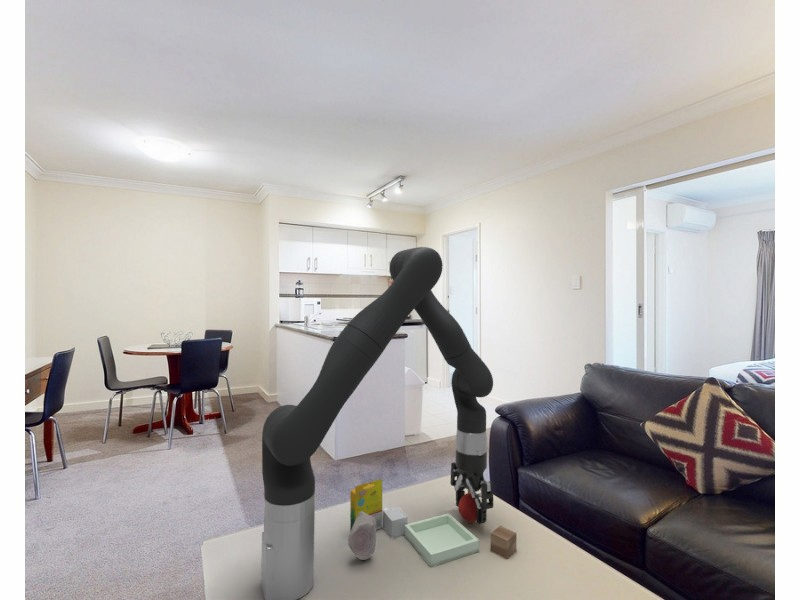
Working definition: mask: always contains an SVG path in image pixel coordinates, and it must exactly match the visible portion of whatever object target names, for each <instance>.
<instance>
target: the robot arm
mask: <svg viewBox="0 0 800 600" xmlns="http://www.w3.org/2000/svg"><path fill="white" fill-rule="evenodd" d="M442 272H443V259H442V257H441V255H440V253H439V252H438V251H436V250H435V249H434V248H431V247H426V246H420V247H413V248H407V249H404V250H400V251H398V252H395V254H394V255H393V256H392V258H391V259H390V262H389V273H390V277H391V279H392V282H391V284H390V285H389V286H388V288H387V289H386V290H385V291H384V292H383V293H382V294H381V295H380V296H379V297H377V298H376V299H374V300H373V301H372V302H370V303H369V304H368V305H366V306H365V307H364V308H362V310H360V311H359V312H358V313H357V314H355V316H354V317H352V318H351V320H349V322H348V323H347V324H346V325H345V327H344V328H343V329H342V331H341V332H340V333H339V334H338V336H337V337H336V338H335V339H334V341H333V343H332V344H331V346H330V348H329V349H328V352H327V353H326V354H327V355H326V357H325V358H324V361H323V364H322V366H321V369H320V372H319V373H318V376H317V378H316V380H315V382H314V383H313V385H312V387H311V388H310V389H309V391H308V392H307V393H306V394H305V396H303V398H302V399H301V400H300V401H299V402H298V404H297V405H294V404H284V405H281V406H279V407H276V408H275V409H274V410H273V411H272V412H270V413H269V414H268V416H267V417H266V419H265V421H264V423H263V427H262V434H261V435H262V437H261V467H262V468H261V470H262V471H261V472H262V475H261V476H262V480H263V488H264V490H263V491H264V492H263V494H264V496H263V497H264V498H263V531H262V532H261V559H260V560H261V566H260V567H261V569H260V576H261V577H260V583H261V588H262V593H263V597H264V600H298V599H301V598H303V597H304V596H306V595H307V594H308V592H310V591H311V589H312V587H314V578H315V516H316V515H315V510H316V509H315V507H316V506H315V505H316V503H315V502H316V478H315V477H316V476H315V473H314V471H313V467H312V462H311V457H312V456H313V455H314V454H315V453H316V451H317V450H318V448H319V447H320V446H321V444H322V442H323V440H324V439H325V437H326V435H327V434H328V432H329V430H330V429H331V427H332V426H333V423H334V422H335V420H336V418H337V416H338V415H339V414H340V411H341V410H342V408H343V407H344V405H345V404H346V402H347V401H348V400H349V399H350V397H351V396H352V395H353V394H354V392H355V391H356V389H357V388H358V386H359V385H360V383H361V382H362V381H363V380H364V378H365V377H366V375H367V374H368V373H369V372H370V370H371V369H372V367H374V365H375V364H376V363H377V361H378V360H379V358H380V357H381V355H382V354H383V353H384V351H385V350H386V348H387V347H388V346H389V343H390V342H391V341H392V339H393V338H394V336H395V335H396V334H397V332H398V331H399V330H400V329H401V327H402V326H403V324H404V323H405V321H406V320H407V319H408V317H409V316H410V314H411V313H412V312H413V311H415V312H416V313H417V315H418V316H419V318H420V319H421V320H422V322H423V324H424V325H425V327H426V328H427V330H428V331H429V333H430V335H431V337H432V338H433V340H434V343H435V344H436V346H437V348H438V350H439V352H440V353H441V355H442V357H443V359H444V360H445V362H446V363H447V365H449V366H450V367H452V368H454V371H453V372H452V376H451V390H452V395H453V399H454V404H455V407H456V411H457V412H456V413H457V416H456V434H455V462H452V463H451V464H450V465H451V466H450V482H449V483H450V486H451V487H452V486H453V487H454V488H453V489H454V491H455V506H457V508H459V507H458V505H459V501H460V499H461V498H462V497H463V495H465V494H466V491H465V489H466V490H467V491H468V490H469V492H471V495H472V498H473V499H475V501H476V504H477V521H476V524H478V525H482V524H485V523H486V522H487V518H488V517H487V516H488V515H487V511H488V510H489V509H493V508H494V482H493V481H492V480H489V481H487V480H485V477H484V472H485V471H486V469H487V467H488V465H487V463H488V435H487V410H486V408H485V406H483V405H482V404H481V403H479V401H478V400H477V398H485V397H487V396H489V395H490V394H491V392H492V391H493V387H494V377H493V375H492V373H491V371H490V369H489V367H488V366H487V365H486V363H485V362H484V361H483V360H482V358H481V357H480V355H478V353H476V352H475V350H474V349H473V348H472V345H471V343H470V341H469V340H468V338H467V336H466V334H465V331H464V330H463V328H462V327H461V325H460V324H459V322H458V321H457V319H456V318H454V316H453V315H452V314H451V313H450V312H449V311H448V310H447V309H446V308H445V306H444V305H442V303H441V302H440V301H439V299H437V297H436V295H435V294H434V293H433V291H432V290H433V288H435V286H436V285H437V283H438V282H439V280H440V278H441V276H442V274H443V273H442ZM455 478H456V479H455ZM479 491H480V493H478V492H479ZM480 498H481V499H480ZM480 501H481V502H480Z"/></svg>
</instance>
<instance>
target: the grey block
mask: <svg viewBox="0 0 800 600" xmlns="http://www.w3.org/2000/svg"><path fill="white" fill-rule="evenodd" d="M382 518H383V519H382V520H383V521H382V525H383V527H382V529H384V530H385V532H386V533H387V534H388V535H389V537H390V538H391V539H393V538H397V537H400V536H404V532H405V525H406V524H408V515H406V513H404V512H403V511H402V509H401V508H400V507H399V506H396V507H392V508H388V509H387V508H386V509H382Z"/></svg>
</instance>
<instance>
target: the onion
mask: <svg viewBox="0 0 800 600" xmlns="http://www.w3.org/2000/svg"><path fill="white" fill-rule="evenodd" d="M480 502H482V500H480ZM457 508H458V512H459V514H460V516H461V518H463V520H464V521H466V522H467V523H468V524H469V525H470V524H473V523H475V522H477V504H476V501H475V499H473V498H472V495H471V492H469V490H468V489H467V492H466V493H465V495H463V497H462V498H461V499H460V501H459V505H458V507H457Z"/></svg>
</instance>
